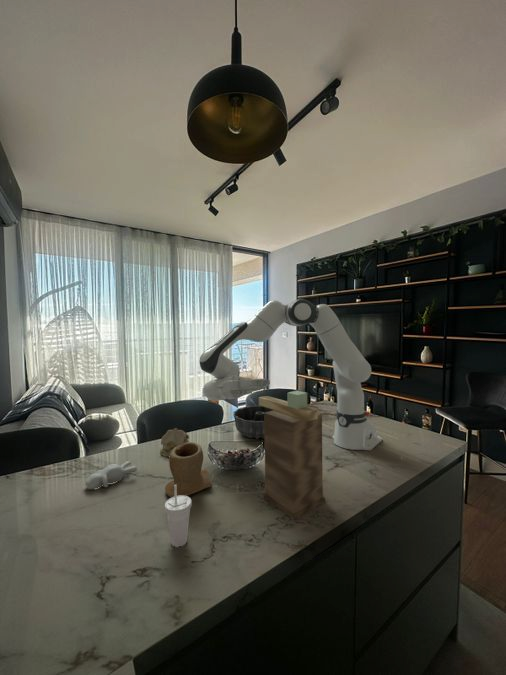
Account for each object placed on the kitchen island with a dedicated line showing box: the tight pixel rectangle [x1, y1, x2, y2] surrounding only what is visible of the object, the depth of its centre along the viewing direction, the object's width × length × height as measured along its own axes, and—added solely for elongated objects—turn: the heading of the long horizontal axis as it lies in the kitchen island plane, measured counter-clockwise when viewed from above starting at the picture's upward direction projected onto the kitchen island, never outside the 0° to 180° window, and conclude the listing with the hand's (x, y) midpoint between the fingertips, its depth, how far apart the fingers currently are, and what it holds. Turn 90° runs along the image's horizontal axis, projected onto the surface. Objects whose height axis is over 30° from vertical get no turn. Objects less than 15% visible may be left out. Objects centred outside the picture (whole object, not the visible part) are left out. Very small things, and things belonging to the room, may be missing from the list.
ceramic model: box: [159, 427, 190, 457], centre depth 124 cm, size 14×11×10 cm
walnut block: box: [262, 410, 326, 520], centre depth 88 cm, size 13×13×26 cm
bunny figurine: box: [84, 460, 138, 490], centre depth 100 cm, size 10×5×15 cm
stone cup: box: [164, 441, 213, 498], centre depth 94 cm, size 15×12×15 cm
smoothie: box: [164, 485, 193, 548], centre depth 71 cm, size 6×6×14 cm
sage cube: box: [286, 390, 308, 409], centre depth 85 cm, size 4×4×4 cm
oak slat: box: [258, 395, 319, 421], centre depth 89 cm, size 4×22×2 cm, turn 37°
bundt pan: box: [232, 405, 273, 440], centre depth 144 cm, size 26×26×10 cm
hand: (260, 382), depth 107 cm, fingers open, 8 cm apart
